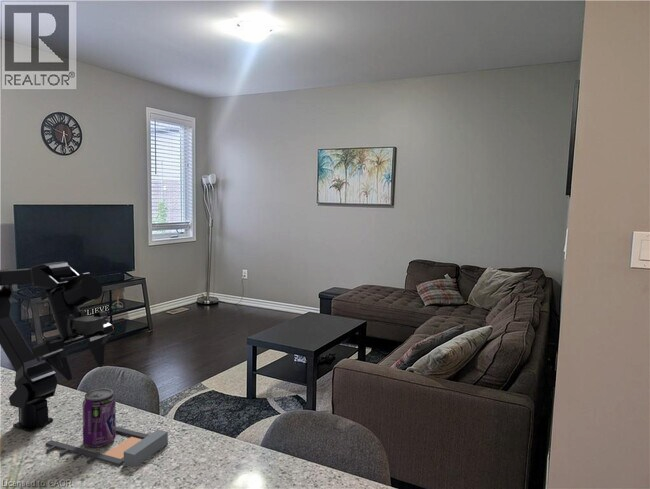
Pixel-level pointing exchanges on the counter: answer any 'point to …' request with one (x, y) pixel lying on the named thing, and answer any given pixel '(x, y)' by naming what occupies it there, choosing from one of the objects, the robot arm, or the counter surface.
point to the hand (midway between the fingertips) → (86, 373)
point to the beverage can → (99, 417)
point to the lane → (120, 448)
